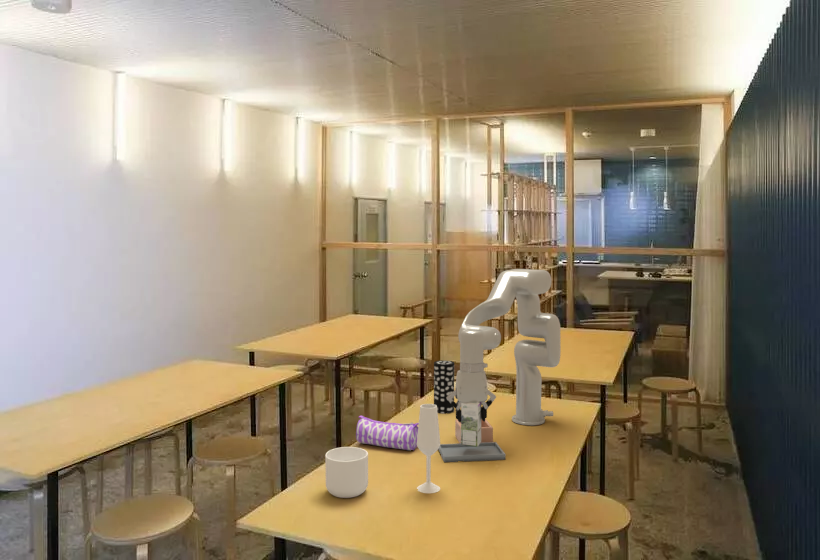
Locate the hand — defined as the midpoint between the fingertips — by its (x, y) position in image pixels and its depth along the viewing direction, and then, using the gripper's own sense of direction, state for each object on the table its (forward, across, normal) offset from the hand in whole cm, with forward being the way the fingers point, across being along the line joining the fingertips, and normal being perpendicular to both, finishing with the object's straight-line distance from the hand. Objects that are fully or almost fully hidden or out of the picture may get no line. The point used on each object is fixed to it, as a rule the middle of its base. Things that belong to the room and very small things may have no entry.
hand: (471, 420), depth 210 cm
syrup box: (+8, 0, 0) cm, 8 cm away
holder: (+12, -4, -14) cm, 19 cm away
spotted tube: (+12, 0, -52) cm, 53 cm away
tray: (+12, 0, 0) cm, 12 cm away
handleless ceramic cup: (+12, +41, +26) cm, 50 cm away
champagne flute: (+12, +18, +26) cm, 34 cm away
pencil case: (+12, +26, -12) cm, 31 cm away
